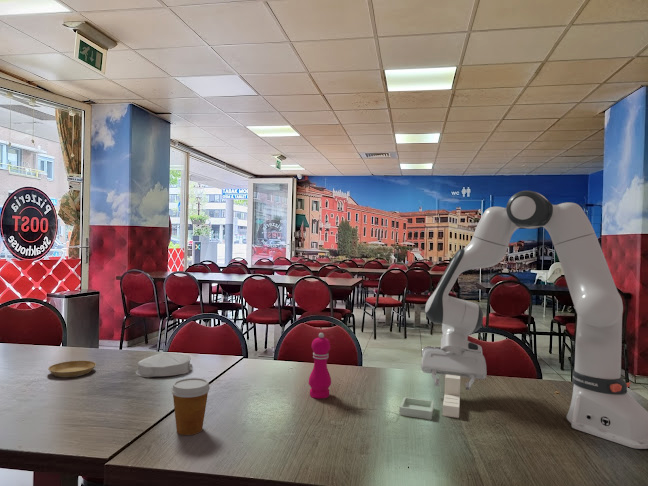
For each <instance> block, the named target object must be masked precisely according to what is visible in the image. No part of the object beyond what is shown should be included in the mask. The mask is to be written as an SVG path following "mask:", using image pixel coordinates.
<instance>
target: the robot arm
mask: <svg viewBox="0 0 648 486" xmlns="http://www.w3.org/2000/svg"><path fill="white" fill-rule="evenodd" d="M541 228H544V229H545V230H546V231H547V233H548V234H549V236H550V237H549V238H550V239H551V242H552V244H553V245H552V246H553V247H554V251H555V252H556V255H557V258H558V261H559V263H560V266H561V269H562V271H563V274H564V278H565V282H566V285H567V289H568V291H569V294H570V297H571V300H572V303H573V307H574V310H575V312H576V314H577V319H576V333H575V342H574V343H575V347H574V348H575V349H574V350H575V351H574V368H573V370H572V379H571V380H572V381H571V382H572V388H573V389H572V394H571V395H572V396H571V401H570V405H569V408H568V412H567V414H566V419H567V421H568V422H569V423H570V424H571V428H572V429H575V430H578V431H580V432H583V433H587V434H590V435H592V436H596V437H598V438H601V439H603V440H607V441H610V442H612V443H613V442H614V443H616V444H619V445H622V446H625V447H629V448H631V449H638V450H643V449H645V450H646V449H648V410H647V409H645V408H644V407H643V406H642V405H641V404H640V403H639V402H638V401H636V399H635V398H634V397H633V396H631V394H629V392H628V388H629V387H631V384H632V382H631V381H630V382H626V381H625V380H624V379H623V377H622V376H621V375H622V374H621V373H622V372H621V371H622V351H623V350H622V349H623V348H622V344H623V343H622V342H623V341H622V340H623V339H622V338H623V336H622V335H623V313H624V304H623V299H622V296H621V294H620V293H619V290H618V289H617V286H616V283H615V281H614V279H613V276H612V273H611V270H610V268H609V265H608V261H607V259H606V257H605V254H604V252H603V250H602V247H601V244H600V241H599V240H598V237H597V234H596V232H595V229H594V227H593V226H592V223H591V221H590V219H589V217H588V216H587V215H586V212H585V211H584V209H583V208H582V207H581V206H580V205H579V204H578V203H575V202H561V203H559V204H553V203H551V202H550V200H548V198H546V196H544V195H543V194H541V193H539V192H536V191H533V190H521V191H518V192H516V193H514V194H513V195H511V197H510V198H509V199H508V201H507V203H506V207H503V206H491V207H488V208H486V209H485V210H484V212H483V213H482V215H481V217H480V219H479V221H478V223H477V225H476V227H475V230H474V233H473V235H472V237H471V240H470V242H469V243H468V244H467V245H466V246H465V247H464V248H460V249H458V250H457V251H456V252H455V253H454V255H453V256H452V258H451V260H450V261H449V262H448V265H447V267H446V268H445V270H444V272H443V273H442V276H441V278H440V280H439V281H438V283H437V285H436V287H435V288H434V289H433V291H432V293H431V294H430V296H429V298H428V299H427V301H426V303H425V307H424V314H425V315H426V317H427V319H428V320H429V321H430V322H431V323H434V324H439V325H441V333H442V335H441V338H440V346H431V345H427V346H424V347H423V348H422V349H421V357H422V359H421V363H420V364H421V366H420V368H421V371H422V372H423V373H427V374H431V378H432V379H433V381H434V383H433V384H434V386H435V387H440V378H438V377H437V375H441V376H445V375H446V374H451V375H460V378H465V379H466V378H467V379H469V381H466V382H465V390H466V391H471V390H472V389H471V388H472V387H471V386H472V385H473V383H474V382H475V380H485V379H486V378H487V371H488V370H487V363H486V362H487V361H486V358H485V356H484V354H483V348H482V346H481V345H479V344H477V343H475V342H472V341H469V339H468V337H469V336H471V335H473V334H475V333H476V332H477V331H479V330H480V329H481V328H482V325H483V321H484V314H483V313H484V312H483V310H482V308H481V306H480V305H479V304H477V303H475V302H473V301H470V300H466V299H462V298H461V299H460V298H457V297H454V296H452V295H449V294H450V292H451V290H452V289H453V286H454V285H455V283H456V281H457V279H458V277H459V276H460V275H461V274H462V273H464V272H466V271H469V270H470V271H471V270H477V269H487V268H491V267H494V266H496V265H498V264H499V263H500V262H502V261H503V259H504V257H505V256H506V253H507V250H508V248H509V245H510V241H511V239H512V236H513V234H515V232H516V231H517V230H518V229H519V230H521V229H524V230H525V229H528V230H533V229H535V230H536V229H541Z"/></svg>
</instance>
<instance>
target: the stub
mask: <svg viewBox="0 0 648 486" xmlns="http://www.w3.org/2000/svg"><path fill="white" fill-rule="evenodd" d="M444 376H445V377H444V394H449V395H457V396H460V397H461V377H460V375H451V374H446V375H444Z"/></svg>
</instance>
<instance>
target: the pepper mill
mask: <svg viewBox="0 0 648 486" xmlns="http://www.w3.org/2000/svg"><path fill="white" fill-rule="evenodd" d="M311 349H312V351H313V352H312V355H313V356H312V358H313V368H312V370H311V373H310V375H309V377H308V385H309V387H310V389H309V396H310V397H311V398H313V399H319V400H320V399H327V398H329V397H330V387H331V386H332V385H331V384H332V378H331V374H330V372H329V369H328V365H327V363H328V362H327V361H328V359H329V351H330V350H331V343H330V340H329V339H328V338H326V337H325V334H324V333H323V332H319V333H318V337H316V338H314V339H313V340H312V342H311Z"/></svg>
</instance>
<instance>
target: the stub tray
mask: <svg viewBox="0 0 648 486" xmlns="http://www.w3.org/2000/svg"><path fill="white" fill-rule="evenodd" d="M434 409H435V401H434V400H430V399H429V400H428V399H424V398H423V399H421V398H415V397H407V396H403V399H402V400H401V403H400V405H399V409H398V410H399V414H398V415H399V416H405V417H412V418H418V419H424V420H432V419H433V415H434V414H433V413H434Z"/></svg>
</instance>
